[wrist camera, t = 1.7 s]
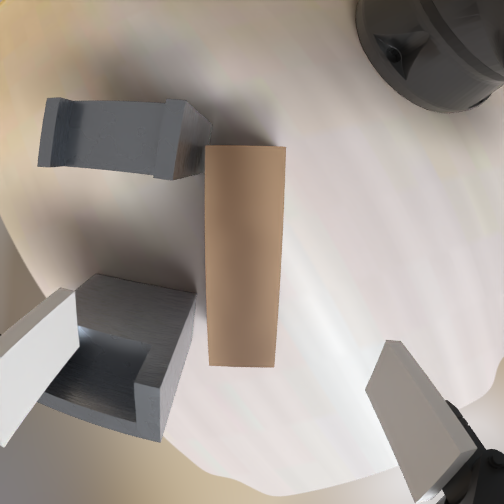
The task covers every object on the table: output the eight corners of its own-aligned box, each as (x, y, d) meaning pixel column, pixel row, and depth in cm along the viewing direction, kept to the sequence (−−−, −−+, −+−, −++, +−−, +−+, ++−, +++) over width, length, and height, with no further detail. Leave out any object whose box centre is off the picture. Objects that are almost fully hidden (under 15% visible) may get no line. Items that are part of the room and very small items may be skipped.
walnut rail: (278, 150, 25) (285, 146, 19) (270, 329, 29) (274, 367, 23) (216, 149, 25) (205, 145, 19) (216, 327, 29) (209, 365, 23)
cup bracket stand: (221, 126, 24) (191, 90, 11) (191, 340, 29) (160, 442, 17) (109, 116, 23) (11, 93, 11) (97, 319, 29) (30, 398, 16)
